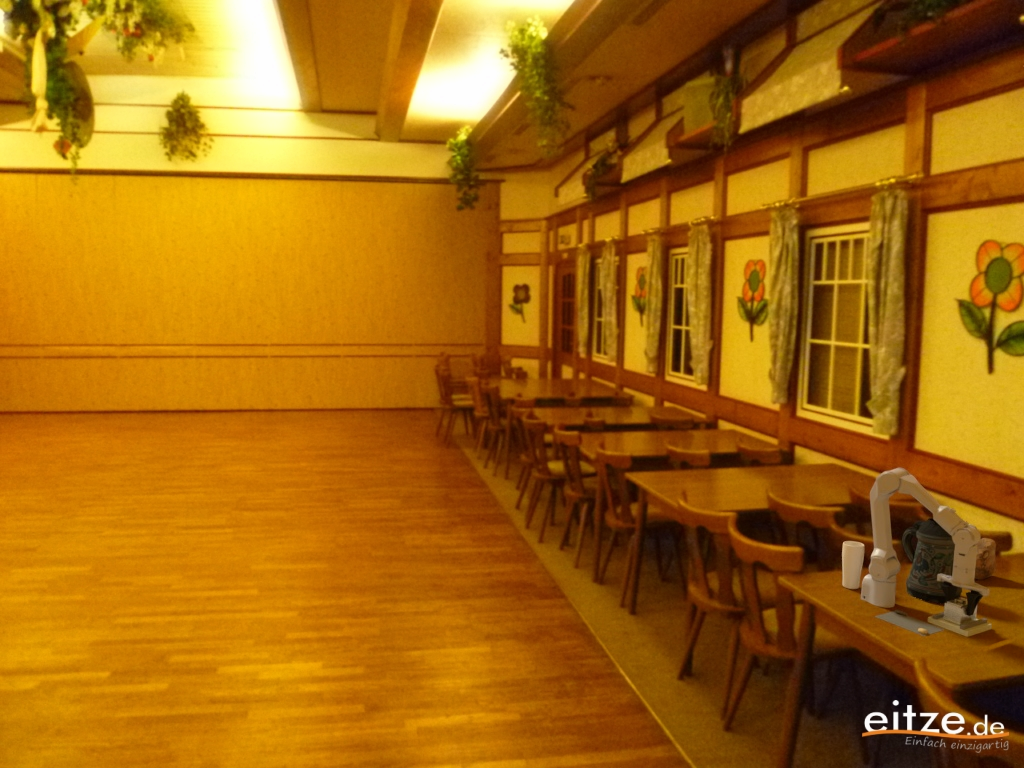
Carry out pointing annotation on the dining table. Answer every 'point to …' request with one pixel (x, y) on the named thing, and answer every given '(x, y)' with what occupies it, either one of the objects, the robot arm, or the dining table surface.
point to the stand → (963, 629)
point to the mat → (909, 623)
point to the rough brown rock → (985, 558)
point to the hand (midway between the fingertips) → (960, 611)
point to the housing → (958, 611)
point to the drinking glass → (852, 563)
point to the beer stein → (929, 560)
